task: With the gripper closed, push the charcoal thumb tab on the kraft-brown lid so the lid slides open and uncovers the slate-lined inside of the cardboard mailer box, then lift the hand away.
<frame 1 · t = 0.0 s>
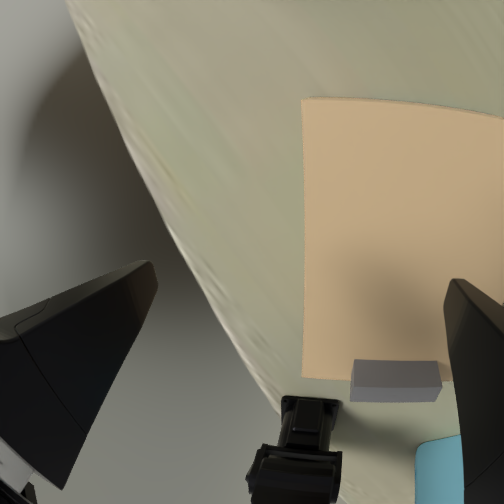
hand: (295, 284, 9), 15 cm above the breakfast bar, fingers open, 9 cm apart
lid: (422, 285, 15), point 8 cm above the breakfast bar, slide at 0.0 cm
mailer box: (400, 225, 22), on the breakfast bar
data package: (453, 440, 33), on the breakfast bar
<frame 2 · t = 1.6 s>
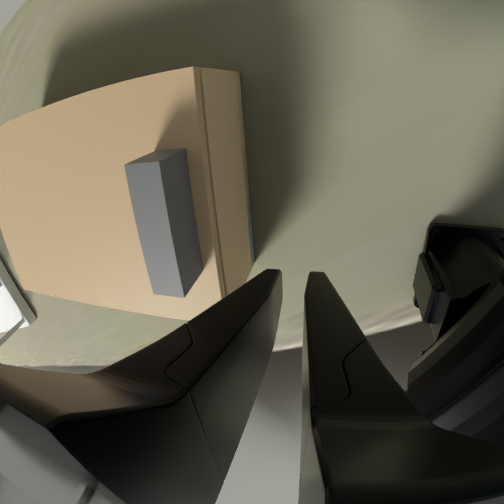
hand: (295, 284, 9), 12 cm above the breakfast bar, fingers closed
lid: (58, 220, 16), point 8 cm above the breakfast bar, slide at 0.0 cm
mailer box: (130, 178, 23), on the breakfast bar
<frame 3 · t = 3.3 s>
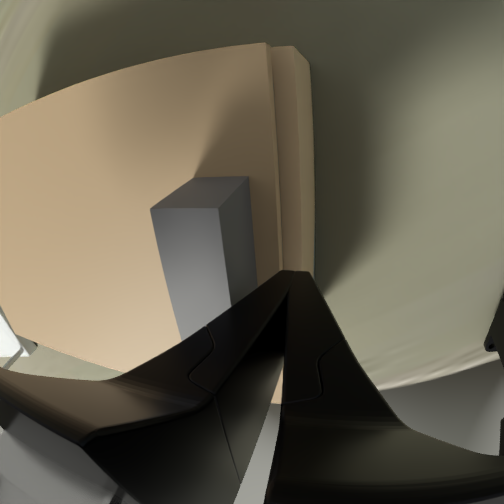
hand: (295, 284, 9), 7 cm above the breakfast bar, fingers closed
lid: (48, 269, 11), point 8 cm above the breakfast bar, slide at 0.6 cm, touching gripper
mailer box: (150, 199, 18), on the breakfast bar
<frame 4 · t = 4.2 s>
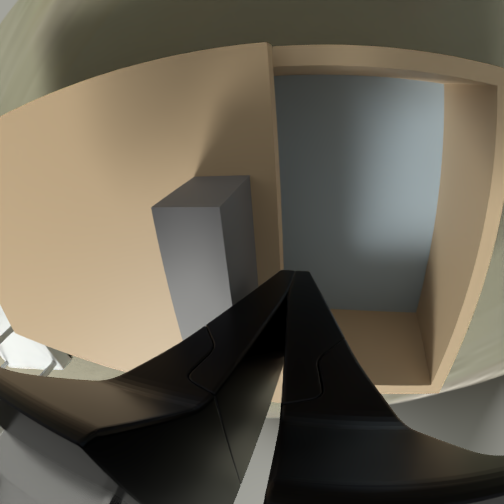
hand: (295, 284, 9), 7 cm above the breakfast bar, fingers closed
lid: (49, 268, 11), point 8 cm above the breakfast bar, slide at 7.1 cm, touching gripper
mailer box: (264, 197, 16), on the breakfast bar
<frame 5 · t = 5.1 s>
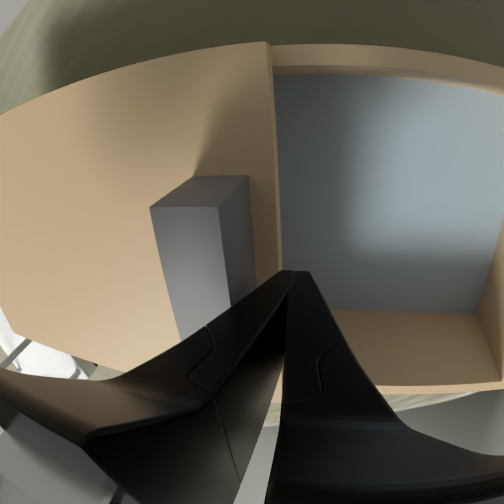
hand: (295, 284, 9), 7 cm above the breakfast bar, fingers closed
lid: (47, 267, 11), point 8 cm above the breakfast bar, slide at 11.0 cm, touching gripper
mailer box: (343, 199, 15), on the breakfast bar
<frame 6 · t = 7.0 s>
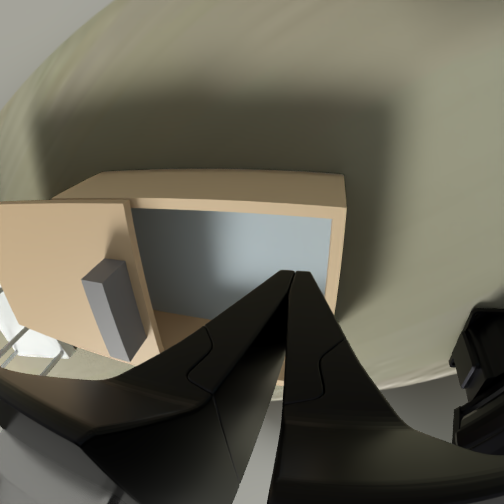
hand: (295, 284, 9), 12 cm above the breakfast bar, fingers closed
lid: (42, 290, 20), point 8 cm above the breakfast bar, slide at 11.1 cm
mailer box: (213, 253, 24), on the breakfast bar
file sorter: (4, 279, 36), on the breakfast bar
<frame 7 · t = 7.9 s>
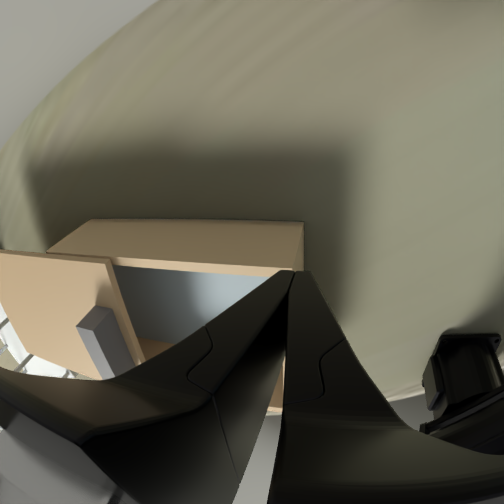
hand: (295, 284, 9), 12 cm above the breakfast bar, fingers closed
lid: (45, 328, 23), point 8 cm above the breakfast bar, slide at 11.1 cm
mailer box: (193, 291, 27), on the breakfast bar
file sorter: (10, 306, 39), on the breakfast bar
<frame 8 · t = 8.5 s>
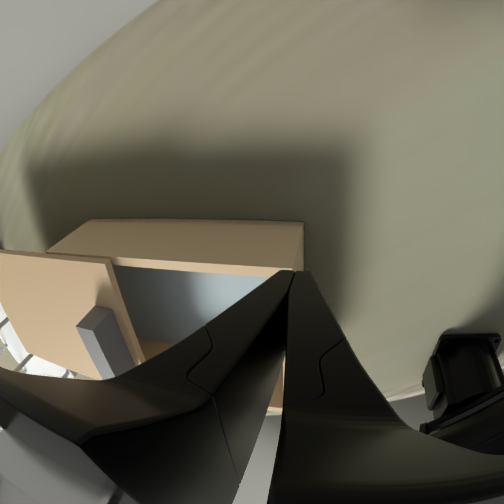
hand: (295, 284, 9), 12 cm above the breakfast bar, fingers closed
lid: (45, 328, 23), point 8 cm above the breakfast bar, slide at 11.1 cm
mailer box: (193, 291, 27), on the breakfast bar
file sorter: (10, 305, 39), on the breakfast bar
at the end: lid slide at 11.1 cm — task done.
